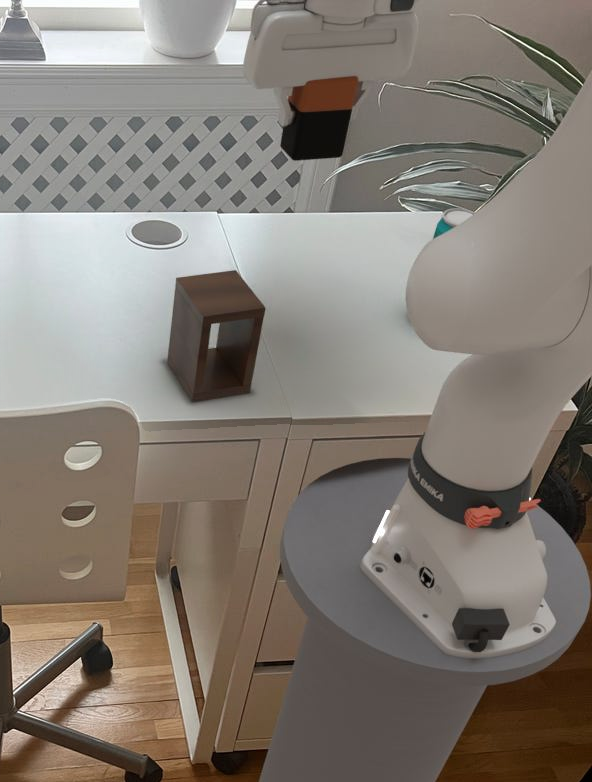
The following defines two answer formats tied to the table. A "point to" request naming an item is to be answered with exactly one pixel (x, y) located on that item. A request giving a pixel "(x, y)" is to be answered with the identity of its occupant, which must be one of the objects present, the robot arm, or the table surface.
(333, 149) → the battery
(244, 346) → the shelf
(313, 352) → the table surface
